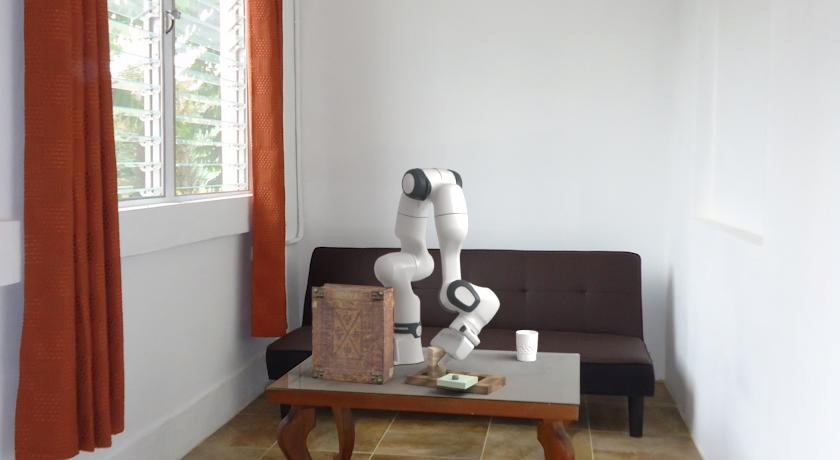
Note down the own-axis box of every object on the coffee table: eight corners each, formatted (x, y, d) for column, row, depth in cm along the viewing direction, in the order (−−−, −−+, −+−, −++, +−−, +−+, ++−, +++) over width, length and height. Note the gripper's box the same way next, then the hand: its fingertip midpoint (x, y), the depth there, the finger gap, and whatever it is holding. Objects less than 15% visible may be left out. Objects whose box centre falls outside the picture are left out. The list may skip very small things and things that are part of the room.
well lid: (436, 385, 259) (436, 376, 259) (449, 378, 267) (450, 370, 267) (465, 389, 255) (465, 379, 254) (477, 382, 262) (477, 373, 262)
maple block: (432, 383, 272) (432, 349, 271) (427, 380, 276) (427, 347, 275) (445, 382, 274) (445, 348, 273) (440, 379, 278) (440, 345, 277)
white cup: (532, 363, 302) (532, 335, 301) (511, 360, 306) (512, 332, 305) (541, 359, 308) (541, 331, 308) (521, 356, 312) (521, 329, 312)
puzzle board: (406, 383, 272) (406, 375, 272) (427, 374, 284) (427, 367, 284) (487, 394, 259) (487, 386, 259) (505, 384, 271) (505, 376, 271)
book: (311, 378, 279) (311, 286, 277) (324, 371, 288) (323, 283, 286) (383, 384, 271) (383, 290, 268) (394, 378, 279) (394, 287, 277)
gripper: (443, 319, 286) (416, 350, 283) (469, 330, 267) (440, 363, 264) (455, 332, 288) (428, 363, 285) (482, 343, 269) (453, 376, 266)
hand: (434, 363), depth 274 cm, fingers open, 5 cm apart
